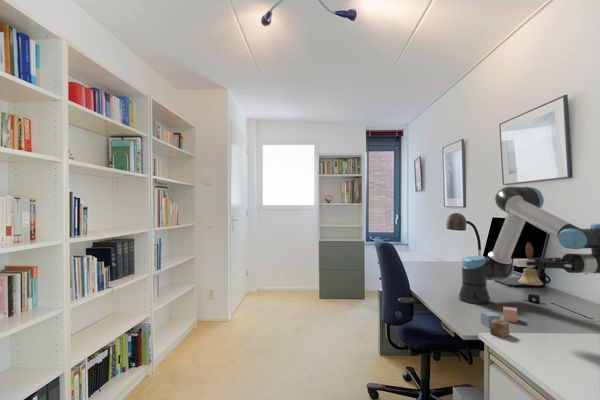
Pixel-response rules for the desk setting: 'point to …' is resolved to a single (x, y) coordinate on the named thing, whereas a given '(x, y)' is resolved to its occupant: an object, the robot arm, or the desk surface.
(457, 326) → the desk surface
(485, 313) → the slate-blue block
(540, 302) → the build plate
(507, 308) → the terracotta block
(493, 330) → the walnut block
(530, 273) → the hand bell
